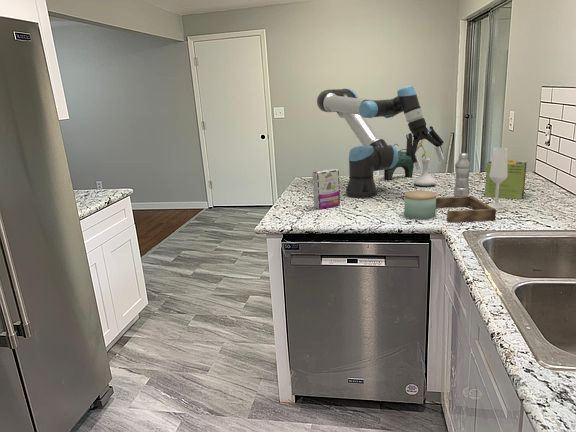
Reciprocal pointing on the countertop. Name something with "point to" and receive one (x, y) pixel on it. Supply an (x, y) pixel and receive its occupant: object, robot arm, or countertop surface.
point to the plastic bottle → (462, 176)
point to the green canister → (420, 204)
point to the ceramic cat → (400, 165)
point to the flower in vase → (424, 171)
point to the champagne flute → (498, 172)
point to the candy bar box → (326, 188)
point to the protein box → (508, 181)
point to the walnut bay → (478, 214)
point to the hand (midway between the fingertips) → (430, 164)
